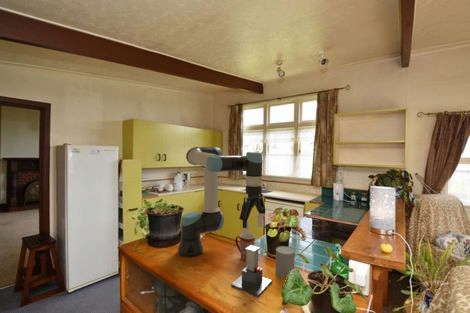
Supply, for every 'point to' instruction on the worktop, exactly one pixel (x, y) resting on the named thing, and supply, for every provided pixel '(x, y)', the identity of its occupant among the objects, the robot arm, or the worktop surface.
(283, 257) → the gray cylinder
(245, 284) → the stand base
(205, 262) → the worktop surface
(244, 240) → the mug
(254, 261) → the column
